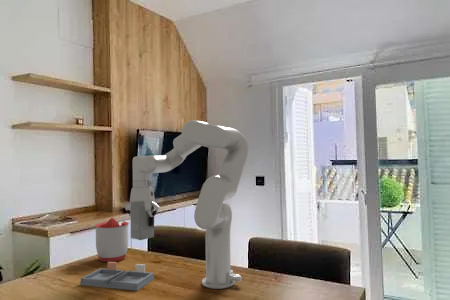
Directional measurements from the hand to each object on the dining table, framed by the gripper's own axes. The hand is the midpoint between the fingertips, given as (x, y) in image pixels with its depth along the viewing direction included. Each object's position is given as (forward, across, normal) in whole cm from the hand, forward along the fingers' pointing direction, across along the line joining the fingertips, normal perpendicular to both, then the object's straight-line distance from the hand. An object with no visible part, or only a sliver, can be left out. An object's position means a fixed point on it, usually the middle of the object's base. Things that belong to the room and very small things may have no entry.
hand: (142, 225), depth 151 cm
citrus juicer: (+20, +24, -14) cm, 34 cm away
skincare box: (+6, 0, 0) cm, 6 cm away
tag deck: (+20, +3, +14) cm, 24 cm away
